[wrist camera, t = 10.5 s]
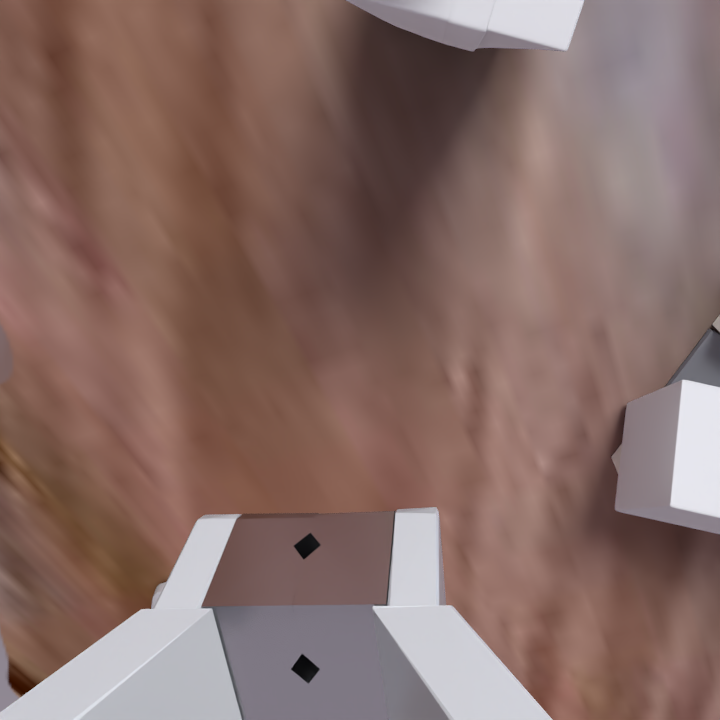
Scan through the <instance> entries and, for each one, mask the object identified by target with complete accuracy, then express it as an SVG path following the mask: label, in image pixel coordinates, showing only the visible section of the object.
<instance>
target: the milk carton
mask: <svg viewBox="0 0 720 720" xmlns="http://www.w3.org/2000/svg"><path fill="white" fill-rule="evenodd" d="M615 510H616V511H618V512H622V513H626V514H631V515H635V516H640V517H644V518H649V519H653V520H658V521H662V522H667V523H671V524H676V525H680V526H685V527H689V528H694V529H698V530H703V531H707V532H712V533H716V534H720V387H716V386H711V385H707V384H703V383H698V382H694V381H689V380H681V381H678V382H676V383H673V384H671V385H669V386H666V387H664V388H661V389H659V390H657V391H654V392H652V393H650V394H647V395H645V396H642V397H640V398H638V399H635V400H633V401H631V402H628V403H627V407H626V414H625V422H624V431H623V439H622V448H621V457H620V465H619V474H618V482H617V491H616V499H615Z"/></svg>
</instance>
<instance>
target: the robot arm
mask: <svg viewBox="0 0 720 720" xmlns="http://www.w3.org/2000/svg"><path fill="white" fill-rule="evenodd" d="M0 720H552V719H551V717H550V716H549V715H548V714H547V713H546V712H545V711H544V709H543V708H542V707H541V706H540V705H539V704H538V703H537V702H536V700H535V699H534V698H533V697H532V696H531V695H530V694H529V692H528V691H527V690H526V689H525V688H524V687H523V686H522V684H521V683H520V682H519V681H518V680H517V679H516V678H515V676H514V675H513V674H512V673H511V672H510V671H509V670H508V668H507V667H506V666H505V665H504V664H503V663H502V662H501V660H500V659H499V658H498V657H497V656H496V655H495V654H494V653H493V651H492V650H491V649H490V648H489V647H488V646H487V645H486V643H485V642H484V641H483V640H482V639H481V638H480V637H479V635H478V634H477V633H476V632H475V631H474V630H473V629H472V627H471V626H470V625H469V624H468V623H467V622H466V621H465V619H464V618H463V617H462V616H461V615H460V614H459V613H458V612H457V610H456V609H455V608H454V607H453V606H450V605H449V606H446V598H445V584H444V571H443V557H442V544H441V531H440V519H439V512H438V510H437V508H436V507H430V508H413V509H397V511H379V512H351V513H323V514H319V513H271V514H242V515H239V514H220V515H204V516H202V517H201V518H200V519H198V520H197V521H196V523H195V525H194V527H193V529H192V531H191V533H190V535H189V537H188V539H187V541H186V543H185V545H184V547H183V549H182V551H181V553H180V555H179V557H178V559H177V561H176V564H175V566H174V568H173V570H172V572H171V574H170V576H169V578H168V580H167V582H164V583H161V584H159V585H158V586H157V587H156V590H155V593H154V595H153V599H152V606H151V609H141V610H140V611H138V612H137V613H135V614H134V615H133V616H131V617H130V618H129V619H127V620H126V621H125V622H123V623H122V624H120V625H119V626H118V627H116V628H115V629H114V630H112V631H111V632H109V633H108V634H107V635H105V636H104V637H103V638H101V639H100V640H99V641H97V642H96V643H94V644H93V645H92V646H90V647H89V648H88V649H86V650H85V651H83V652H82V653H81V654H79V655H78V656H77V657H75V658H74V659H73V660H71V661H70V662H68V663H67V664H66V665H64V666H63V667H62V668H60V669H59V670H57V671H56V672H55V673H53V674H52V675H51V676H49V677H48V678H47V679H45V680H44V681H42V682H41V683H40V684H38V685H37V686H36V687H34V688H33V689H31V690H30V691H29V692H27V693H26V694H25V695H23V696H22V697H21V698H19V699H18V700H16V701H15V702H14V703H12V704H11V705H10V706H8V707H7V708H5V709H4V710H3V711H2V712H0Z"/></svg>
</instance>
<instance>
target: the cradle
mask: <svg viewBox="0 0 720 720" xmlns="http://www.w3.org/2000/svg"><path fill="white" fill-rule="evenodd" d="M712 325H713V326H714V327H715V328H716V329H717V330H718V331H719V332H720V315H719V316H718V318H717V319H716V320H715V321H714V323H713V324H712ZM681 380H689V381H694V382H698V383H703V384H707V385H711V386H716V387H720V333H718V332H715V331H713V330H711V329H708V331H707V332H706V333H705V335H704V336H703V337H702V339H701V340H700V341H699V342H698V344H697V345H696V346H695V348H694V349H693V350H692V352H691V353H690V354H689V356H688V357H687V358H686V360H685V361H684V362H683V363H682V365H681V366H680V367H679V369H678V370H677V371H676V373H675V374H674V375H673V377H672V378H671V379H670V381H669V382H668V383H667V385H666V386H669V385H671V384H673V383H676V382H678V381H681ZM666 386H665V387H666ZM621 448H622V444H621V445H620V446H619V448H618V449H617V450H616V452H615V453H614V454H613V455H612V457H611V458H612V461H613V463H614V465H615V468H616V470H617V473H618V474H619V465H620V457H621Z"/></svg>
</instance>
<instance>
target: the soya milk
mask: <svg viewBox="0 0 720 720" xmlns="http://www.w3.org/2000/svg"><path fill="white" fill-rule="evenodd" d="M346 1H348V2H350V3H352V4H354V5H355V6H357V7H359V8H361V9H363V10H365V11H366V12H368V13H370V14H372V15H374V16H376V17H378V18H380V19H382V20H384V21H386V22H388V23H390V24H392V25H394V26H396V27H399V28H401V29H404V30H407V31H410V32H412V33H415V34H417V35H420V36H422V37H425V38H428V39H431V40H434V41H437V42H440V43H443V44H446V45H449V46H453V47H457V48H460V49H464V50H468V51H472V52H473V51H475V49H478V48H513V49H540V50H554V51H567V50H568V48H569V45H570V42H571V39H572V36H573V33H574V30H575V27H576V24H577V21H578V18H579V15H580V12H581V9H582V6H583V3H584V1H585V0H346Z"/></svg>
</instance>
